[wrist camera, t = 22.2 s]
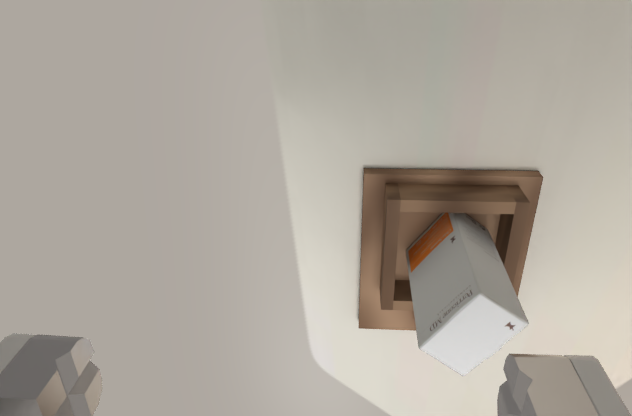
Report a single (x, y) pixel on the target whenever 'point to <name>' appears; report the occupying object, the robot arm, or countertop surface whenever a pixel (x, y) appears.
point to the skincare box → (461, 293)
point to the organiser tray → (420, 213)
